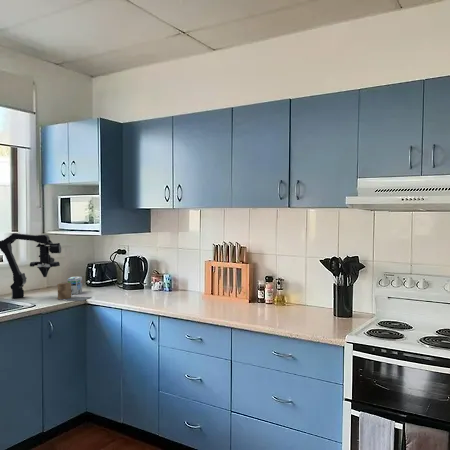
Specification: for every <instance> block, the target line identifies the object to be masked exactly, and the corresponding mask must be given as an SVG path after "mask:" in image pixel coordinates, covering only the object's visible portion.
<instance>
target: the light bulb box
mask: <svg viewBox="0 0 450 450" xmlns="http://www.w3.org/2000/svg"><path fill="white" fill-rule="evenodd" d="M67 283H71V295H78V294H81V293H83V276H70V277H69V278H67Z"/></svg>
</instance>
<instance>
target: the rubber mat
mask: <svg viewBox="0 0 450 450" xmlns="http://www.w3.org/2000/svg"><path fill="white" fill-rule="evenodd" d="M91 298H92V296H71V298H69V299H66V300H67V302H83V301H86V300H89V299H91Z"/></svg>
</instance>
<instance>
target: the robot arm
mask: <svg viewBox="0 0 450 450" xmlns="http://www.w3.org/2000/svg"><path fill="white" fill-rule="evenodd" d="M17 240H22V241H31V242H35V243H38V244H37V245H36V246H35V247H36V248H39V255H38V258H39V261H31V262H30V263H29V267H32V268H33V267H35V266H37V269H38V270H39V271H40V273H41V275H42V277H43V278H47V276H48V273H49V271H50V269H51V268H53V267H54V268H56V267H59V266H60V264H61V263H60V262H59V261H55V258H54V257H53V256H51V254H61V253H62V246H61V242H57V243H56V242H54V243H53V242H52V240H51V239H50V236H49V235H48V234H46V233H45V234H28V233H19V232H13V233H11V234H10V235H8V236H7V237H5V238H4V239H2V240H0V251H1V252H2V254H4V256H5V258H6V260H7V264H8V265H9V268H10V270H11V272H12V280H13V281H12V282H13V283H12V284H11V285H10V286H9V287H10V289H11V298H12V299H21V298H24V296H25V291H24V289H23V287H24V285H25V284H26V283H27V276H26V274H25V272H23V273H22V272H21V271H20V268H19V265H18V263H17V260H16V258H15V256H14V254H13V245H12V244H14V243H15V241H17Z"/></svg>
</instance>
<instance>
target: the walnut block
mask: <svg viewBox="0 0 450 450" xmlns="http://www.w3.org/2000/svg"><path fill="white" fill-rule="evenodd" d="M69 298H72V294H71V283H68V282H59V283H57V300H58V299H61V300H62V301H63V300H64V301H65V300H66V299H69ZM61 300H60V301H61Z"/></svg>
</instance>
